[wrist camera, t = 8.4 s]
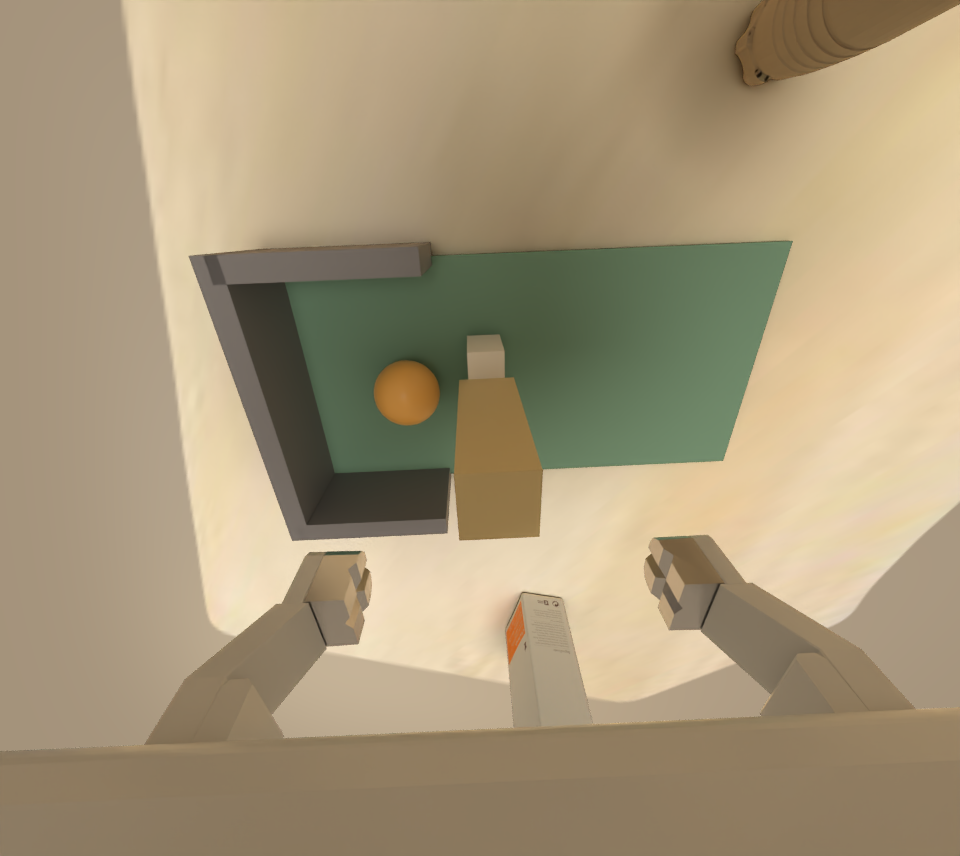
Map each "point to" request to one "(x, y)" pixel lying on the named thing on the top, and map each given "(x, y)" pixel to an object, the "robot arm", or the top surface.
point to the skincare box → (544, 666)
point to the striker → (494, 451)
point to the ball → (406, 392)
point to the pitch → (549, 350)
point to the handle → (823, 33)
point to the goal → (311, 391)
